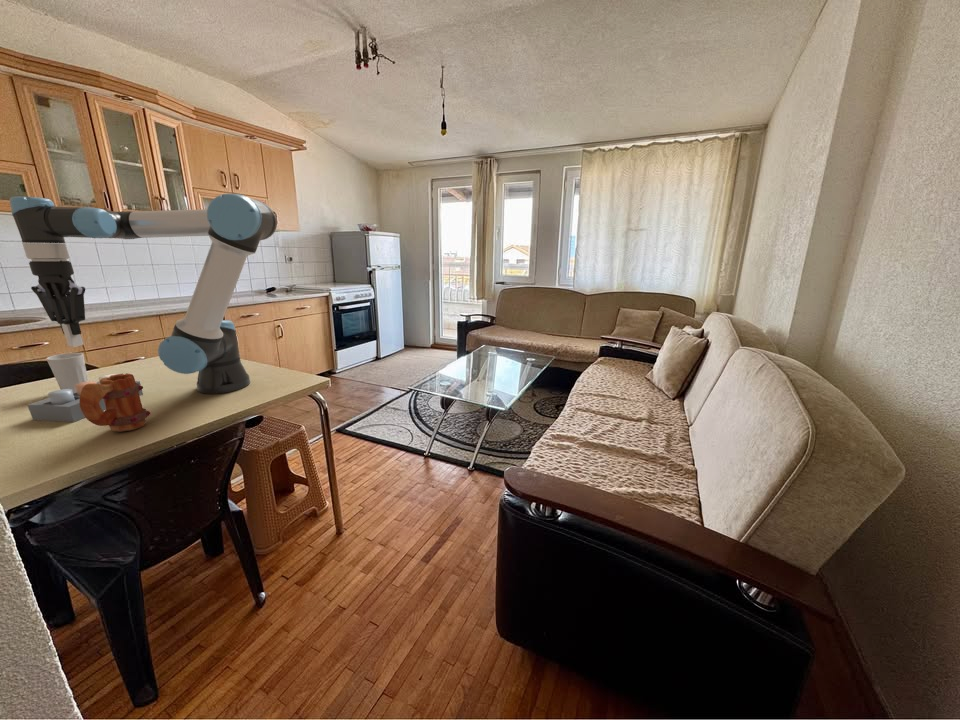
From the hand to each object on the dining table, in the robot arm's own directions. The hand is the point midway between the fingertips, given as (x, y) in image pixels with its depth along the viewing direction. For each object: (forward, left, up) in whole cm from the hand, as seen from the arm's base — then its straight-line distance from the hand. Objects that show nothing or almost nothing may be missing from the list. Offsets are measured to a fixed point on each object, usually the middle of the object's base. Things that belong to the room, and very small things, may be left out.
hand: (76, 345), depth 105 cm
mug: (-24, +15, -19) cm, 34 cm away
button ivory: (0, -6, -16) cm, 17 cm away
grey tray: (0, +1, -19) cm, 19 cm away
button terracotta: (0, +1, -16) cm, 16 cm away
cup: (+17, -10, -19) cm, 27 cm away
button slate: (0, +7, -16) cm, 18 cm away
